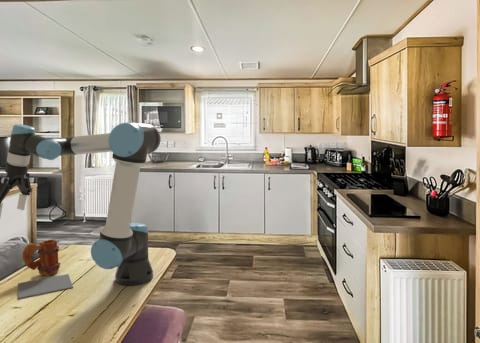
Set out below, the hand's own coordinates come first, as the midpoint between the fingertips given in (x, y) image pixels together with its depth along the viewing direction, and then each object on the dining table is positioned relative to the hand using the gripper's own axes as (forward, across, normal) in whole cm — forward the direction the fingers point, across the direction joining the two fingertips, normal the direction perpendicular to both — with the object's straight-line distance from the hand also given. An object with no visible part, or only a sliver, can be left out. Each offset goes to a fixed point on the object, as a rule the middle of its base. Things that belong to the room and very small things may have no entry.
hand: (8, 213), depth 142 cm
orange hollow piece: (+24, -3, +17) cm, 30 cm away
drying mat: (+21, +7, +24) cm, 33 cm away
